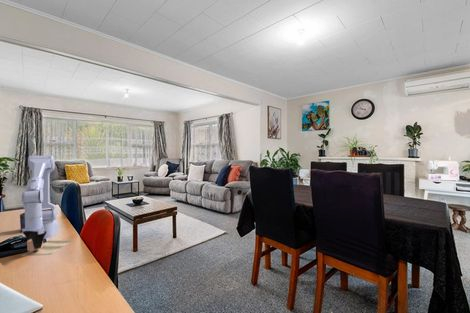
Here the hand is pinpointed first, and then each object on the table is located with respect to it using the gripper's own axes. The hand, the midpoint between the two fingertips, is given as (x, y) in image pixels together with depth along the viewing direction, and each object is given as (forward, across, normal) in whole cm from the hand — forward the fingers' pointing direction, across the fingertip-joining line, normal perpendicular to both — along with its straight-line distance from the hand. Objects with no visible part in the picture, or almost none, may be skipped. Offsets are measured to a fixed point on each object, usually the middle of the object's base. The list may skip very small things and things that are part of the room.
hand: (35, 246), depth 99 cm
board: (+3, 0, +5) cm, 6 cm away
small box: (+3, -41, +13) cm, 44 cm away
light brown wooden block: (+1, 0, 0) cm, 1 cm away
